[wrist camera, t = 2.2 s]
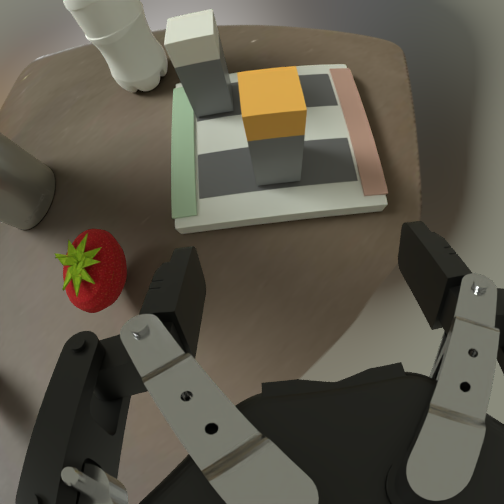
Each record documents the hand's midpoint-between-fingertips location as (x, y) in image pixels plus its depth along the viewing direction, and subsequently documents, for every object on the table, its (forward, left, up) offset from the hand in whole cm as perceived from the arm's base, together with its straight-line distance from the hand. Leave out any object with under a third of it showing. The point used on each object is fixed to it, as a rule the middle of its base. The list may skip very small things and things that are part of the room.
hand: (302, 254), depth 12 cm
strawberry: (-14, -10, -18) cm, 25 cm away
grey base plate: (-11, +11, -18) cm, 24 cm away
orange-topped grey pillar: (-8, +8, -15) cm, 19 cm away
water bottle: (-31, +10, -18) cm, 37 cm away
